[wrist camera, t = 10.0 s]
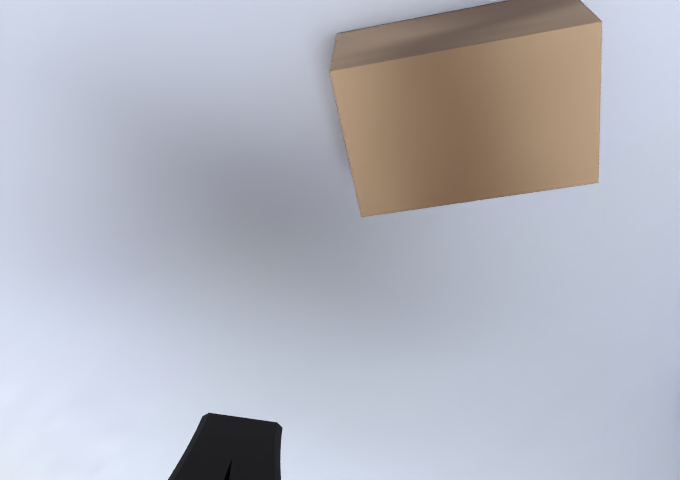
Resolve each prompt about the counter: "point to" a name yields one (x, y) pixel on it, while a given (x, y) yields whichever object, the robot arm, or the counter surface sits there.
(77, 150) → the counter surface
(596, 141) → the tan cardboard box
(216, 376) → the counter surface
